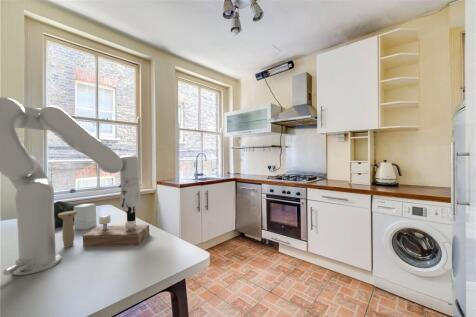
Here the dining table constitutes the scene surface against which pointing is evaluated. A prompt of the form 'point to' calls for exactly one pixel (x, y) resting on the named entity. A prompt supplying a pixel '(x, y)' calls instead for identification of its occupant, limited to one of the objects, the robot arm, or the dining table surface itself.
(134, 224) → the knob
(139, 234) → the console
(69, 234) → the handle
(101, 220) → the knob
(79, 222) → the supplement box
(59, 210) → the squash
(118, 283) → the dining table surface
